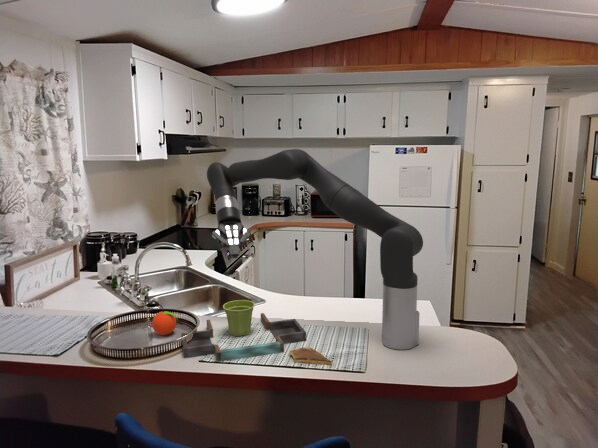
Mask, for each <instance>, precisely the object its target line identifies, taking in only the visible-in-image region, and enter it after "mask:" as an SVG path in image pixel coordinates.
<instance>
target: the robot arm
mask: <svg viewBox="0 0 598 448" xmlns="http://www.w3.org/2000/svg"><path fill="white" fill-rule="evenodd" d="M206 178H207V182H208V184H209V186H210V188H211V190H212V193H213V194H214V201H215V214H216V219H217V229H216V230H213V231H212V233H211V238H212V240H214V241H215V242H217V243H218V244H219V245H220V246H221V247H222V248H224V249H226V248H228V251H229V256H230V257H232V259H237V258H238V257H239V256H240V247H243V246H244V245H245V243H246V242H247V240H248V239H249V237H251V231H252V230H251V228H248V229H247V228H245V227H244V224H242V219H241V214H240V208H239V204H238V201H237V197H236V191H235V188H234V187H235V186H237V185H239V184H242V183H250V182H255V181H258V180H265V179H274V180H284V181H292V180H295V179H296V180H301V181H303V182H305V183H306V184H308V185H310V186H311V187H312V188H314V189H315V191H316V192H317V194H318V195H319V197H320V200H321V201H322V202H323V204H324V206H326V208H328V209H329V210H330V211H331V212H333V214H335V215H336V216H338V217H339V218H341V219H343V220H344V221H345V222H348V223H351V224H352V225H355V226H358V227H360V228H363V229H366V230H368V231H371V233H372V232H373V233H374V234H375V235H377V236H378V237H380V238H381V240H380V244H379V256H380V257H379V259H380V260H379V261H380V262H379V263H380V264H379V265H380V266H379V267H380V273H381V276H382V313H381V314H382V317H381V319H382V321H381V322H382V325H381V343H382V345H384V346H385V347H387V348H389V349H393V350H400V351H401V350H411V349H413V348H414V347H415V346H418V345H419V342H420V341H419V339H420V337H419V336H420V312H419V311H418V309H417V308H418V307H417V305H418V280H419V279H418V275H417V273H415V272H414V256H416V255H418V254H419V253H420V252H421V251H422V249H423V247H424V240H423V236H422V234H421V232H420V231H419V230H418V229H417V228H416V227H414V225H411V224H410V223H408V222H406V221H405V220H402V219H400V218H399V217H396V216H395V215H393V214H391V213H390V212H388V211H386V210H385V209H383V208H382V207H380V206H379V204H377V203H376V202H374V201H373V200H372V199H370V198H368V197H367V196H365V195H364V194H363V193H362V192H360V191H359V190H358V189H356V188H355V187H353V186H352V185H350V184H349V183H348V182H346V181H344V180H342V178H340V177H339V176H337V175H336V174H334V173H332V172H331V171H329V170H328V169H327V168H326V167H324V166H322V165H321V164H320V163H319V162H318V161H317V160H315V158H313V157H312V156H311V155H310V154H309V153H308V152H307V151H305V150H303V149H299V148H293V149H292V148H291V149H284V150H281V151H279V152H277V153H275V154H272V155H269V156H267V157H264V158H261V159H253V160H252V159H249V160H243V161H237V162H233V163H232V164H230V165H229V166H226V165H224V164H223V163H222V162H218V161H216V162H215V161H214V162H212V163H210V165H209V166H208V167H207V170H206ZM241 235H242V237H241V238H240V239H239V237H240V236H241Z"/></svg>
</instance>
